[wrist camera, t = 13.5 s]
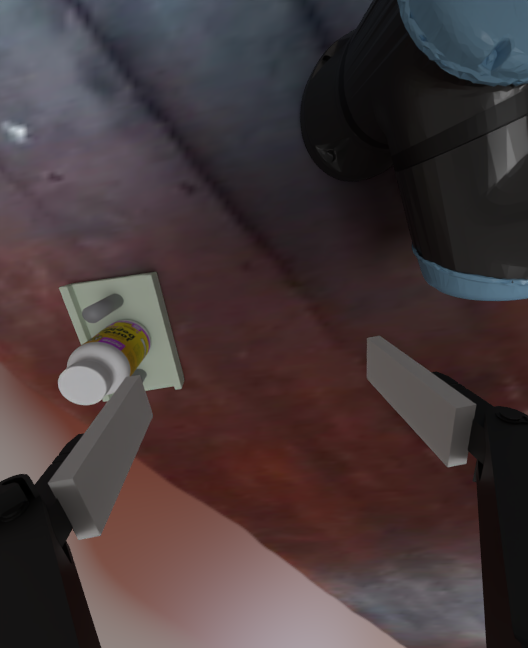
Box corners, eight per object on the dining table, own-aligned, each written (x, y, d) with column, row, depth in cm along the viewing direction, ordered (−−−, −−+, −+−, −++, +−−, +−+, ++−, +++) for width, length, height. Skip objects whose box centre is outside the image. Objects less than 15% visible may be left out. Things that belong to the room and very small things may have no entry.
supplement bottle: (153, 321, 39) (116, 361, 27) (151, 361, 41) (117, 415, 29) (104, 315, 38) (43, 354, 26) (105, 357, 40) (50, 411, 28)
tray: (70, 283, 38) (26, 297, 30) (156, 271, 38) (136, 282, 30) (111, 391, 44) (83, 427, 36) (184, 379, 44) (173, 411, 36)
